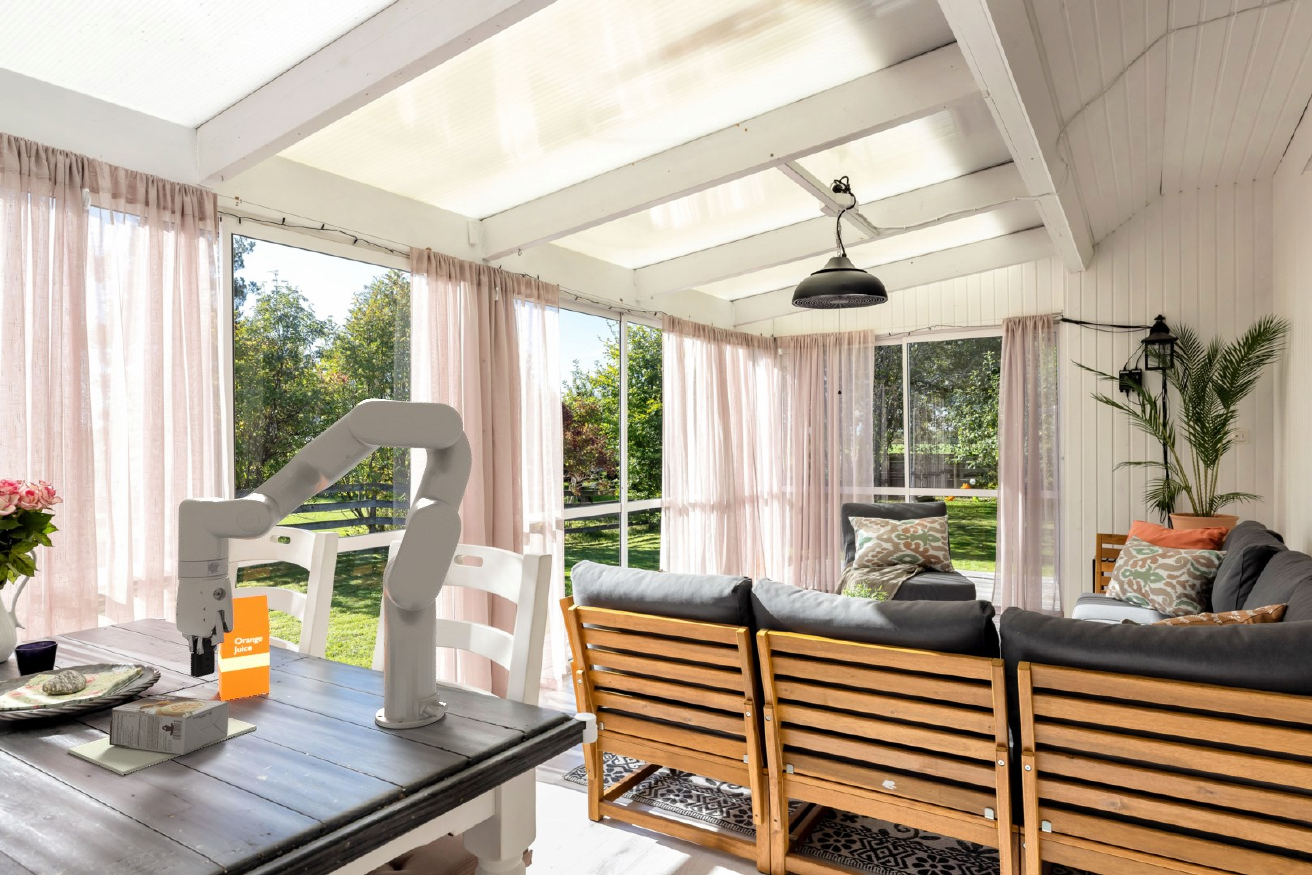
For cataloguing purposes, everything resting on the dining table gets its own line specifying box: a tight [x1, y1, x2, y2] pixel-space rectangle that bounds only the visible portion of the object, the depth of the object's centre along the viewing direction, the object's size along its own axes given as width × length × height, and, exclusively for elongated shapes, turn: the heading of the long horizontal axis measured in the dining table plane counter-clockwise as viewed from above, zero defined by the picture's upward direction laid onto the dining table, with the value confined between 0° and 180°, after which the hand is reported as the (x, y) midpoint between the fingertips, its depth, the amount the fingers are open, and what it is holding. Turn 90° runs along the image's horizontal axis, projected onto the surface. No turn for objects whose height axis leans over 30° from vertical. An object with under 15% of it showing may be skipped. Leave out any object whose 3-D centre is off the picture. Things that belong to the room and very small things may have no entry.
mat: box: [67, 716, 258, 776], centre depth 132 cm, size 18×22×1 cm
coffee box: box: [109, 693, 230, 756], centre depth 130 cm, size 9×6×16 cm
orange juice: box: [217, 594, 271, 702], centre depth 158 cm, size 8×9×20 cm
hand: (202, 674), depth 130 cm, fingers closed
